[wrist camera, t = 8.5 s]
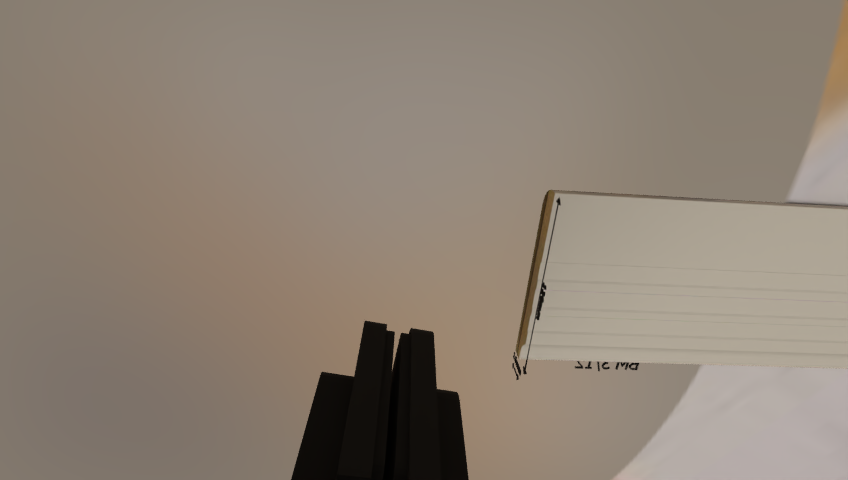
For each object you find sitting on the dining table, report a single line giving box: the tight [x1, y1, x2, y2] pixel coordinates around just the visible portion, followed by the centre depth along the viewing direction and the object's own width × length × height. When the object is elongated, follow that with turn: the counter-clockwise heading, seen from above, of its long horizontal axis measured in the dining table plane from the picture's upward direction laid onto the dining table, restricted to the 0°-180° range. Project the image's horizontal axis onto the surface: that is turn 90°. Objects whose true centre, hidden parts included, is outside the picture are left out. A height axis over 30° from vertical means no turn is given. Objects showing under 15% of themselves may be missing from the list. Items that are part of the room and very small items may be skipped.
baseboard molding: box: [512, 190, 848, 380], centre depth 25 cm, size 31×3×12 cm
